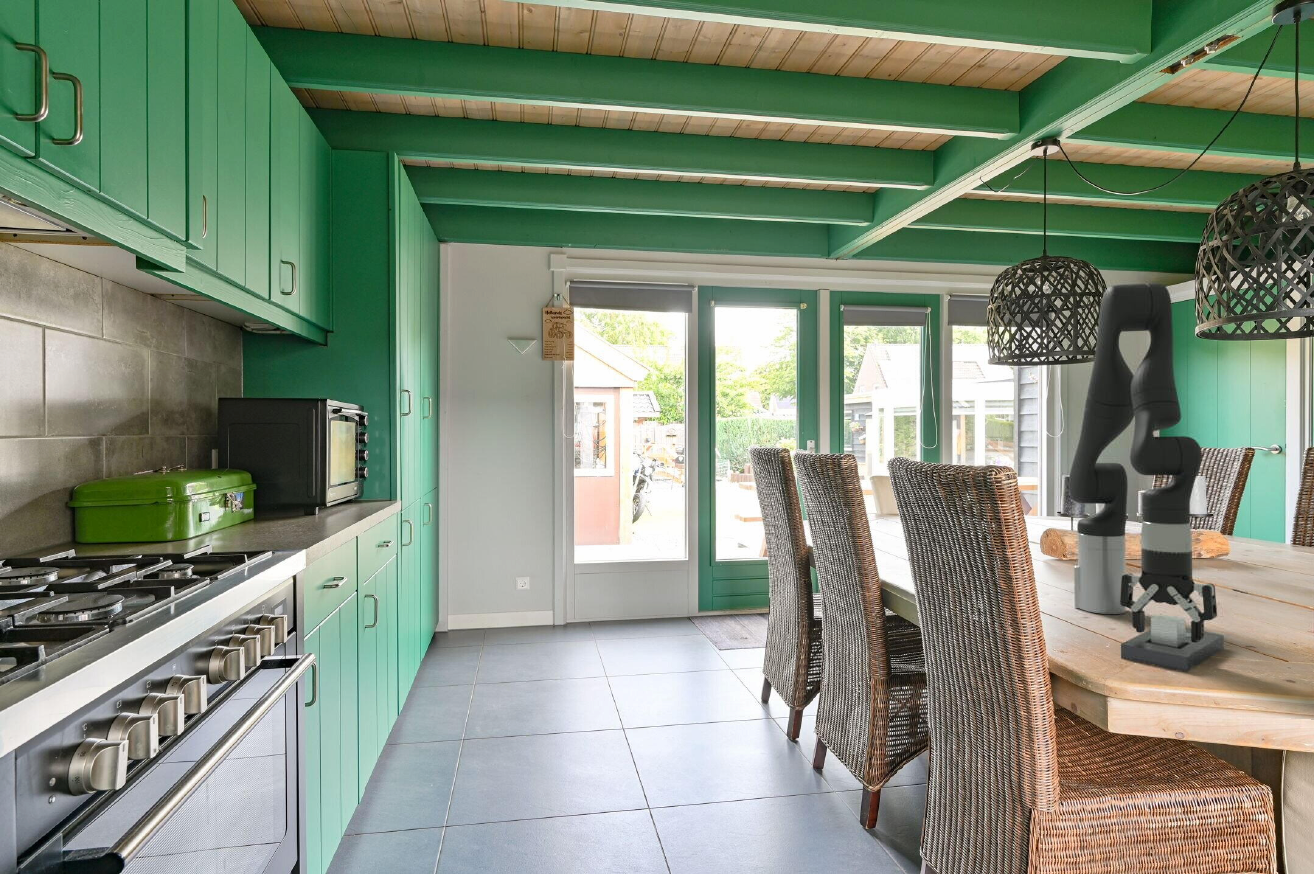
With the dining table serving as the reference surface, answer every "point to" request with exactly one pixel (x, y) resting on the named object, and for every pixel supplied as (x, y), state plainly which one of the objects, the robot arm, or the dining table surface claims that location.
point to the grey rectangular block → (1168, 631)
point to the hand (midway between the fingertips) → (1167, 636)
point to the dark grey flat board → (1172, 651)
